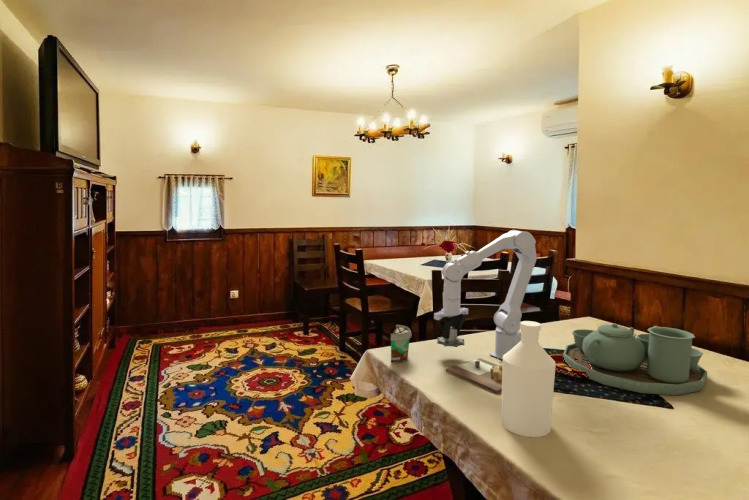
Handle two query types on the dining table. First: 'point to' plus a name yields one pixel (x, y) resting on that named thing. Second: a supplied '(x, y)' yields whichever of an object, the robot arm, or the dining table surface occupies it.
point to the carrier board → (480, 374)
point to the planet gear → (451, 339)
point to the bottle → (527, 385)
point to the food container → (400, 343)
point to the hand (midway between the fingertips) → (450, 337)
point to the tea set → (638, 359)
